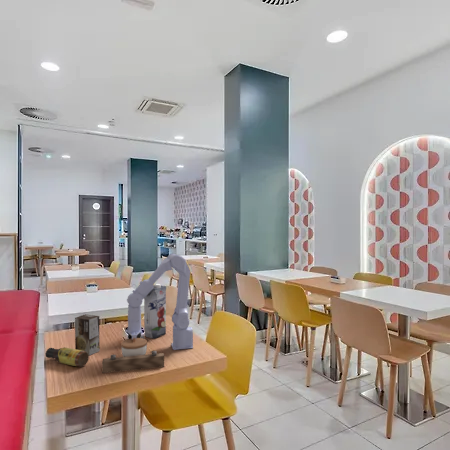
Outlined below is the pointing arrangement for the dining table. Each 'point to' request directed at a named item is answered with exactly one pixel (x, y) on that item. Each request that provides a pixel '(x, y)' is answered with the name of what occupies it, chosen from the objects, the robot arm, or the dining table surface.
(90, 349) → the coffee box
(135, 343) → the lidded jar
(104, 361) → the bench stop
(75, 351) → the sauce bottle
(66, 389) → the dining table surface
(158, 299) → the juice carton
